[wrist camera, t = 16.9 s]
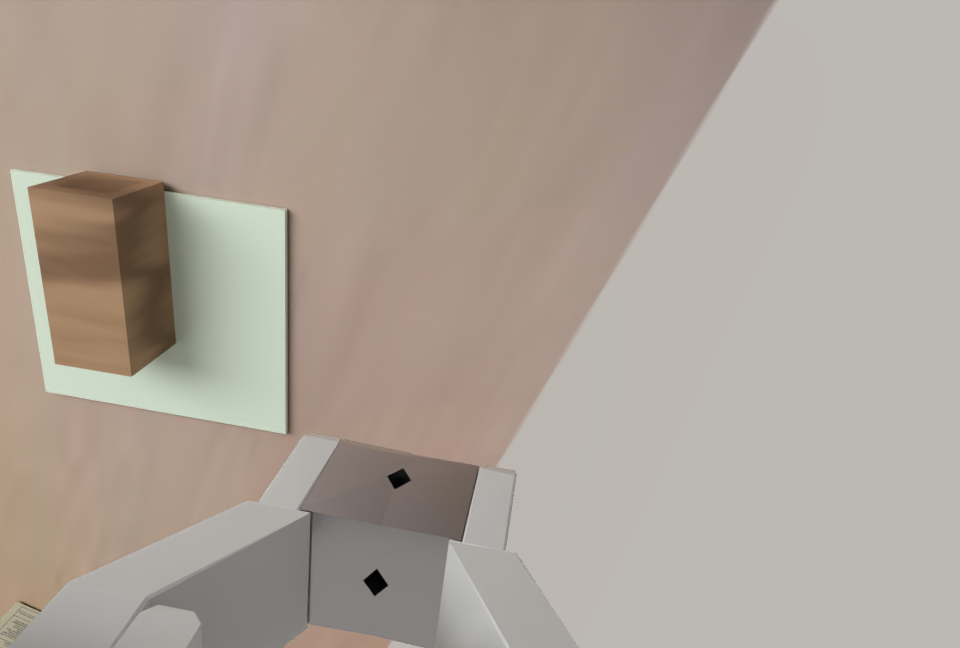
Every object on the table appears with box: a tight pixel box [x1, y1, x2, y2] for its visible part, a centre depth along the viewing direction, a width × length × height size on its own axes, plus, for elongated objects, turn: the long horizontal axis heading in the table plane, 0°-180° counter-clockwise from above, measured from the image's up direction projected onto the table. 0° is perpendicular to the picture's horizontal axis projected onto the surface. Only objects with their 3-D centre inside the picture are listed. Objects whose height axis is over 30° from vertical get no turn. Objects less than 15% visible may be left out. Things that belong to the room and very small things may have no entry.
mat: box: [10, 169, 288, 434], centre depth 46 cm, size 16×18×1 cm
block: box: [27, 171, 176, 377], centre depth 42 cm, size 5×5×11 cm
